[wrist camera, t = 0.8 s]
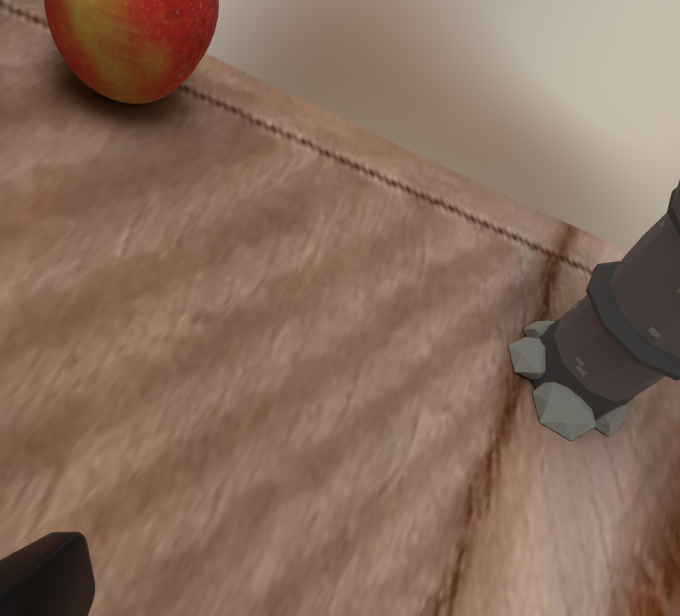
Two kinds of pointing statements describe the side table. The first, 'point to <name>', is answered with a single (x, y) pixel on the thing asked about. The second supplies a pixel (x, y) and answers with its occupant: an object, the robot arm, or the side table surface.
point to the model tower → (609, 337)
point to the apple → (132, 43)
